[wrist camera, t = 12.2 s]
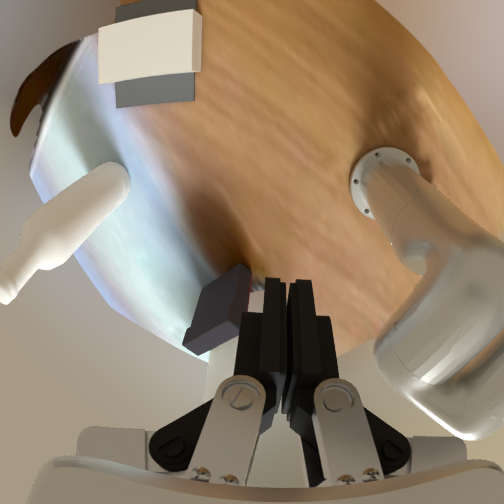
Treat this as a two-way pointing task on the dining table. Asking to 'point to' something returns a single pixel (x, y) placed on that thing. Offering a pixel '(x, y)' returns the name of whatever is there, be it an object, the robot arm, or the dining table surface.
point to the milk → (220, 367)
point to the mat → (162, 85)
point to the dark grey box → (219, 311)
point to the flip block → (150, 46)
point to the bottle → (63, 225)
